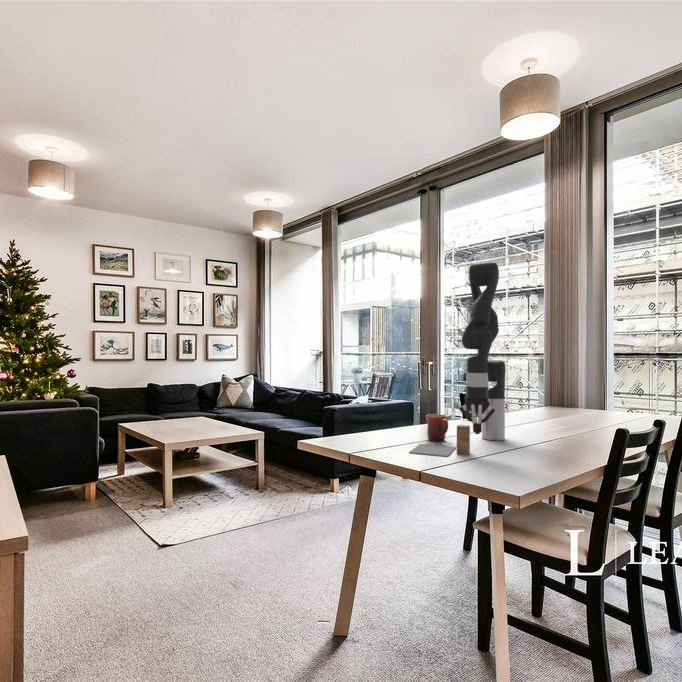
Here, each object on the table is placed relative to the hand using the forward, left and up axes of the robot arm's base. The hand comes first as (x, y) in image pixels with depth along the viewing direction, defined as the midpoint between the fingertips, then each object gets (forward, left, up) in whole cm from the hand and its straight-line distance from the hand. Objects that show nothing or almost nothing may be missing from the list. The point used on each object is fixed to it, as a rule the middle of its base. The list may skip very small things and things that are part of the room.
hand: (477, 433), depth 167 cm
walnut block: (0, -5, -8) cm, 9 cm away
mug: (-19, -18, -8) cm, 27 cm away
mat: (0, -16, -8) cm, 18 cm away
